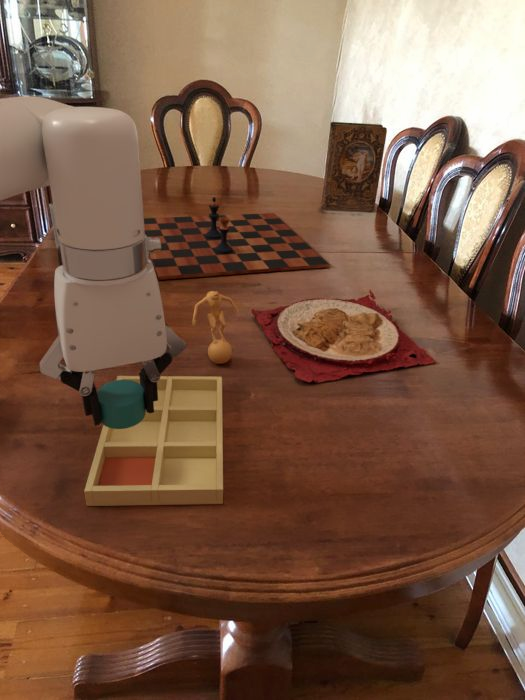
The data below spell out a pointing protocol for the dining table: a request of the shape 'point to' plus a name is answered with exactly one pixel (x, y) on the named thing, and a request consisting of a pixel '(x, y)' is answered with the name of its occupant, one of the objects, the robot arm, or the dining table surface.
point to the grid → (164, 449)
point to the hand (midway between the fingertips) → (122, 410)
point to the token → (121, 404)
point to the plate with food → (338, 338)
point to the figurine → (218, 348)
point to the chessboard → (227, 245)
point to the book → (353, 166)
